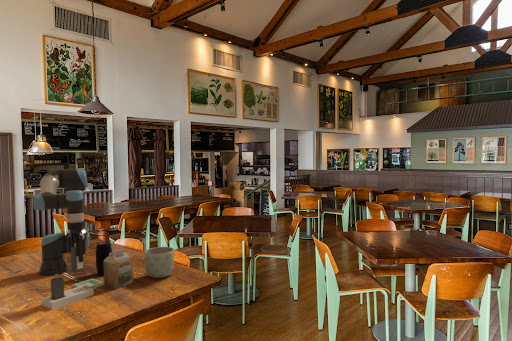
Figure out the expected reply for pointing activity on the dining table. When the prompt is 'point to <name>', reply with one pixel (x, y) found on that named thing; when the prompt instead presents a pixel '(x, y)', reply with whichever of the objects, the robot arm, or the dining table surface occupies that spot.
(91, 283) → the tray
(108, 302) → the dining table surface
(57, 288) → the twin plug
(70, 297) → the beige flat rimmed piece
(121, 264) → the milk carton
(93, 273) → the dining table surface
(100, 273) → the portable speaker
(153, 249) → the planter
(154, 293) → the dining table surface
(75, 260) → the plug
